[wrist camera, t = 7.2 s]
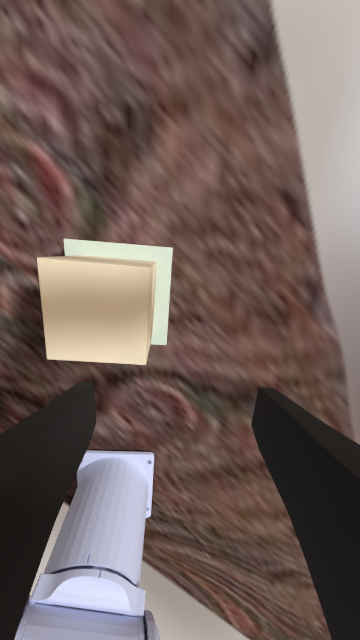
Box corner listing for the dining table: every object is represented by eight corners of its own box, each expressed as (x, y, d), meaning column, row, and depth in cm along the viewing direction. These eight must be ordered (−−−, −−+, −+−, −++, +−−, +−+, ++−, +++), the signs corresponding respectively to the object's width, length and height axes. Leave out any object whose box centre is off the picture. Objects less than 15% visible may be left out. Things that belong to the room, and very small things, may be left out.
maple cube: (152, 331, 16) (145, 364, 12) (83, 326, 16) (47, 359, 11) (156, 261, 15) (150, 267, 10) (80, 254, 15) (37, 257, 10)
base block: (166, 331, 20) (166, 345, 17) (85, 326, 19) (71, 339, 16) (172, 248, 18) (172, 247, 15) (81, 240, 17) (63, 238, 14)
